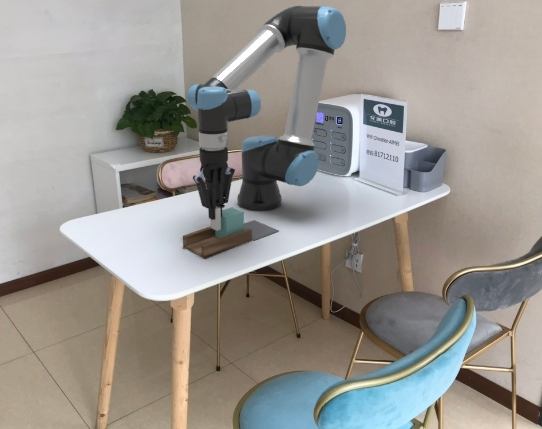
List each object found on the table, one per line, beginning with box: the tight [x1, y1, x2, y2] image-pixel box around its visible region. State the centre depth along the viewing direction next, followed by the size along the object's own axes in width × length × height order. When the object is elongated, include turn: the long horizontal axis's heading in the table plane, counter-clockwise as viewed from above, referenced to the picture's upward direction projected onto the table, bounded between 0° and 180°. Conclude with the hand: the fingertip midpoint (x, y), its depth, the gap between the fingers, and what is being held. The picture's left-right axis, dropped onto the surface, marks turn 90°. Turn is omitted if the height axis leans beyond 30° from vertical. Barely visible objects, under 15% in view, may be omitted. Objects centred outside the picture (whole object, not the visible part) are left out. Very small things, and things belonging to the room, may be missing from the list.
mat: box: [244, 219, 280, 242], centre depth 162 cm, size 11×10×1 cm
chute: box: [182, 225, 253, 259], centre depth 153 cm, size 10×17×4 cm, turn 134°
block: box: [215, 206, 245, 239], centre depth 154 cm, size 5×6×8 cm
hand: (215, 228), depth 151 cm, fingers closed
